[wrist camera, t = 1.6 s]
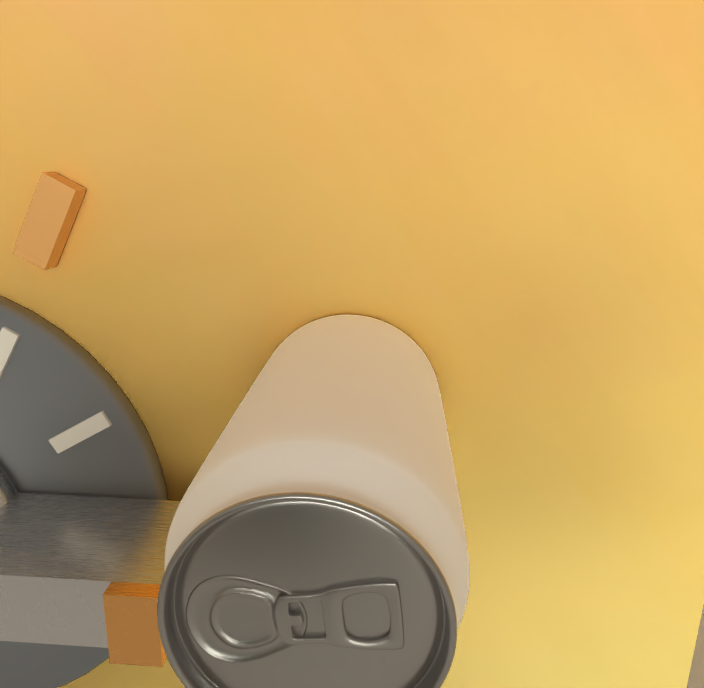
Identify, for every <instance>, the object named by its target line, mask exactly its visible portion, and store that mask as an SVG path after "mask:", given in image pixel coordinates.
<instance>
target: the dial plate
mask: <svg viewBox="0 0 704 688" xmlns="http://www.w3.org/2000/svg"><path fill="white" fill-rule="evenodd" d="M0 466H1V467H2V468H3V469H4V471H5V472H6V473H7V475H8V476H9V478H10V479H11V481H12V482H13V484H14V486H15V488H16V490H17V492H18V493H34V494H53V495H73V496H92V497H111V498H131V499H150V500H168V498H167V491H166V484H165V480H164V476H163V473H162V469H161V466H160V462H159V459H158V455H157V453H156V451H155V448H154V446H153V444H152V441H151V439H150V437H149V435H148V432H147V430H146V428H145V426H144V424H143V423H142V421H141V419H140V417H139V416H138V414H137V412H136V411H135V409H134V407H133V406H132V404H131V402H130V401H129V399H128V398H127V397H126V395H125V394H124V393H123V391H122V390H121V389H120V387H119V386H118V385H117V384H116V382H115V381H114V380H113V378H112V377H111V376H110V375H109V374H108V372H107V371H106V370H105V369H104V368H103V367H102V366H101V365H100V364H99V363H98V362H97V361H96V360H95V359H94V358H93V357H92V356H91V355H90V354H89V353H88V352H87V351H86V350H85V349H84V348H82V347H81V346H80V345H79V344H78V343H76V342H75V341H74V340H73V339H71V338H70V337H69V336H68V335H67V334H65V333H64V332H63V331H62V330H60V329H59V328H57V327H56V326H54V325H53V324H51V323H50V322H48V321H46V320H45V319H43V318H42V317H40V316H39V315H37V314H36V313H34V312H32V311H30V310H28V309H26V308H24V307H22V306H20V305H18V304H16V303H14V302H12V301H10V300H8V299H6V298H4V297H2V296H0ZM108 657H109V651H108V648H102V647H87V646H72V645H57V644H42V643H27V642H12V641H0V688H57V687H60V686H63V685H66V684H68V683H69V682H71V681H73V680H75V679H77V678H79V677H81V676H83V675H85V674H87V673H88V672H90V671H91V670H92V669H94V668H95V667H96V666H98V665H99V664H101V663H102V662H103V661H105V660H106V659H107V658H108Z"/></svg>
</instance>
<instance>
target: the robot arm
mask: <svg viewBox="0 0 704 688" xmlns="http://www.w3.org/2000/svg"><path fill="white" fill-rule="evenodd" d="M687 688H704V606H703V611H702V616H701V621H700V626H699V630H698V635H697V640H696V645H695V650H694V655H693V660H692V665H691V669H690V674H689V679H688V684H687Z"/></svg>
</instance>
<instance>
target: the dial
mask: <svg viewBox="0 0 704 688" xmlns="http://www.w3.org/2000/svg"><path fill="white" fill-rule="evenodd" d="M180 502H181V501H169V500H150V499H131V498H111V497H92V496H73V495H53V494H34V493H18V492H17V490H16V488H15V486H14V484H13V482H12V481H11V479H10V478H9V476H8V475H7V473H6V472H5V471H4V469H3V468H2V467H1V466H0V641H12V642H27V643H42V644H57V645H72V646H87V647H102V648H108V651H109V660H110V663H113V664H128V665H143V666H158V667H163V665H164V663H165V660H166V658H167V656H166V654H165V651H164V648H163V645H162V642H161V638H160V634H159V629H158V620H157V602H158V594H159V589H160V584H161V581H162V578H163V575H164V572H165V548H166V541H167V537H168V532H169V529H170V526H171V523H172V520H173V518H174V515H175V513H176V510H177V508H178V506H179V504H180Z"/></svg>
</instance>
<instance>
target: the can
mask: <svg viewBox="0 0 704 688" xmlns="http://www.w3.org/2000/svg"><path fill="white" fill-rule="evenodd" d="M468 593H469V555H468V547H467V540H466V533H465V527H464V521H463V515H462V509H461V503H460V497H459V492H458V486H457V480H456V474H455V469H454V463H453V458H452V452H451V446H450V441H449V435H448V430H447V425H446V419H445V414H444V409H443V403H442V398H441V394H440V389H439V385H438V381H437V378H436V375H435V372H434V370H433V367H432V365H431V363H430V361H429V360H428V358H427V356H426V355H425V354H424V352H423V351H422V349H421V348H420V347H419V346H418V345H417V344H416V343H415V342H414V341H413V340H412V339H411V338H410V337H409V336H408V335H406V334H405V333H404V332H402V331H401V330H399V329H398V328H396V327H394V326H392V325H390V324H388V323H386V322H384V321H381V320H378V319H375V318H372V317H367V316H362V315H350V314H347V315H334V316H328V317H324V318H321V319H317V320H315V321H312V322H310V323H308V324H306V325H304V326H302V327H300V328H299V329H297V330H296V331H294V332H293V333H292V334H290V335H289V336H288V337H287V338H286V339H285V340H284V341H283V342H282V343H281V344H280V345H279V346H278V347H277V349H276V350H275V351H274V353H273V354H272V355H271V357H270V358H269V360H268V361H267V363H266V364H265V366H264V367H263V369H262V370H261V372H260V373H259V375H258V377H257V378H256V380H255V381H254V383H253V384H252V386H251V388H250V389H249V391H248V392H247V394H246V395H245V397H244V399H243V400H242V402H241V403H240V405H239V406H238V408H237V410H236V411H235V413H234V414H233V416H232V418H231V419H230V421H229V422H228V424H227V426H226V427H225V429H224V430H223V432H222V433H221V435H220V437H219V438H218V440H217V442H216V443H215V445H214V446H213V448H212V450H211V451H210V453H209V454H208V456H207V458H206V459H205V461H204V462H203V464H202V466H201V467H200V469H199V471H198V472H197V474H196V476H195V477H194V479H193V481H192V482H191V484H190V486H189V487H188V489H187V491H186V493H185V495H184V496H183V498H182V500H181V502H180V504H179V506H178V508H177V510H176V513H175V515H174V518H173V520H172V523H171V526H170V529H169V532H168V537H167V541H166V548H165V572H164V575H163V578H162V581H161V584H160V589H159V594H158V602H157V620H158V629H159V634H160V638H161V642H162V645H163V648H164V651H165V654H166V656H167V659H168V661H169V663H170V665H171V667H172V668H173V670H174V672H175V673H176V675H177V677H178V678H179V679H180V681H181V682H182V684H183V685H184V686H185V687H186V688H440V687H441V686H442V684H443V682H444V680H445V678H446V676H447V674H448V672H449V670H450V667H451V664H452V661H453V658H454V654H455V649H456V642H457V630H458V627H459V625H460V622H461V620H462V617H463V614H464V611H465V608H466V604H467V599H468Z"/></svg>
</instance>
